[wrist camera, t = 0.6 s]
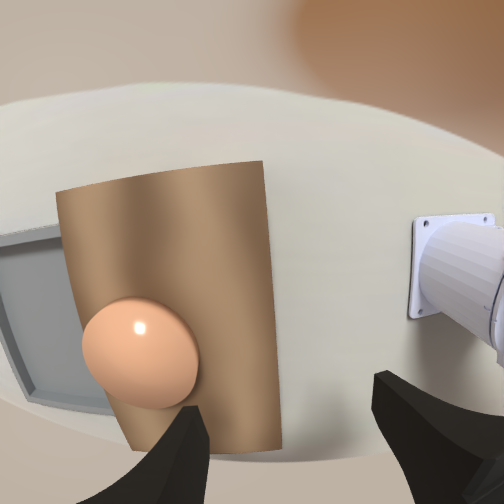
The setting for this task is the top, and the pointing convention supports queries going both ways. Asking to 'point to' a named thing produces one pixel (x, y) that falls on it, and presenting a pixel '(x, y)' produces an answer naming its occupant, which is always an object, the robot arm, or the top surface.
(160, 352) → the peach rounded disc
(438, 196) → the top surface
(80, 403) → the tray
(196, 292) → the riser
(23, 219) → the top surface
